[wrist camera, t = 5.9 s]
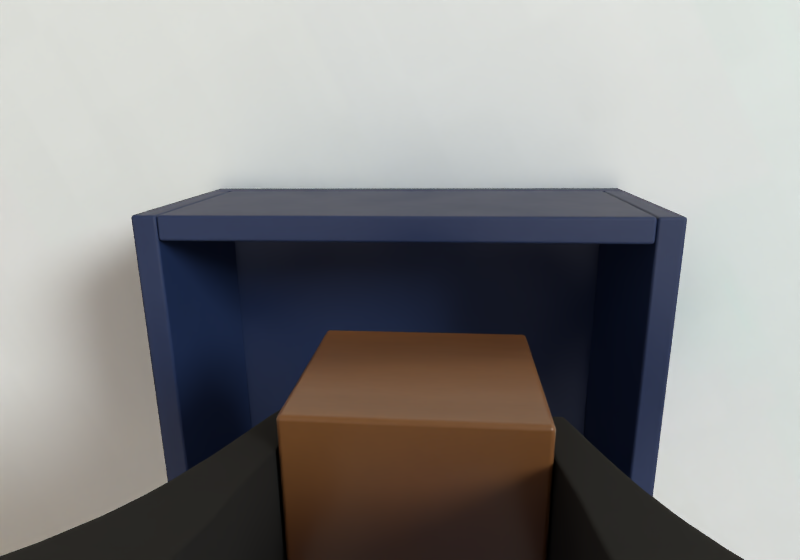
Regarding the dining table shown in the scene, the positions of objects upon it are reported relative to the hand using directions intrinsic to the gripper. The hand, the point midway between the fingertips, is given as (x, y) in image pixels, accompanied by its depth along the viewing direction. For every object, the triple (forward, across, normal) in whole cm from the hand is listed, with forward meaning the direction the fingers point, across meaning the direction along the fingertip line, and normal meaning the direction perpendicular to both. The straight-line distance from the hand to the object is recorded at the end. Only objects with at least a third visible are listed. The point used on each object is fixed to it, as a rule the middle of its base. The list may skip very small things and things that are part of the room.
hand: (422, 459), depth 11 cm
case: (+8, +1, 0) cm, 8 cm away
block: (+1, 0, 0) cm, 1 cm away
